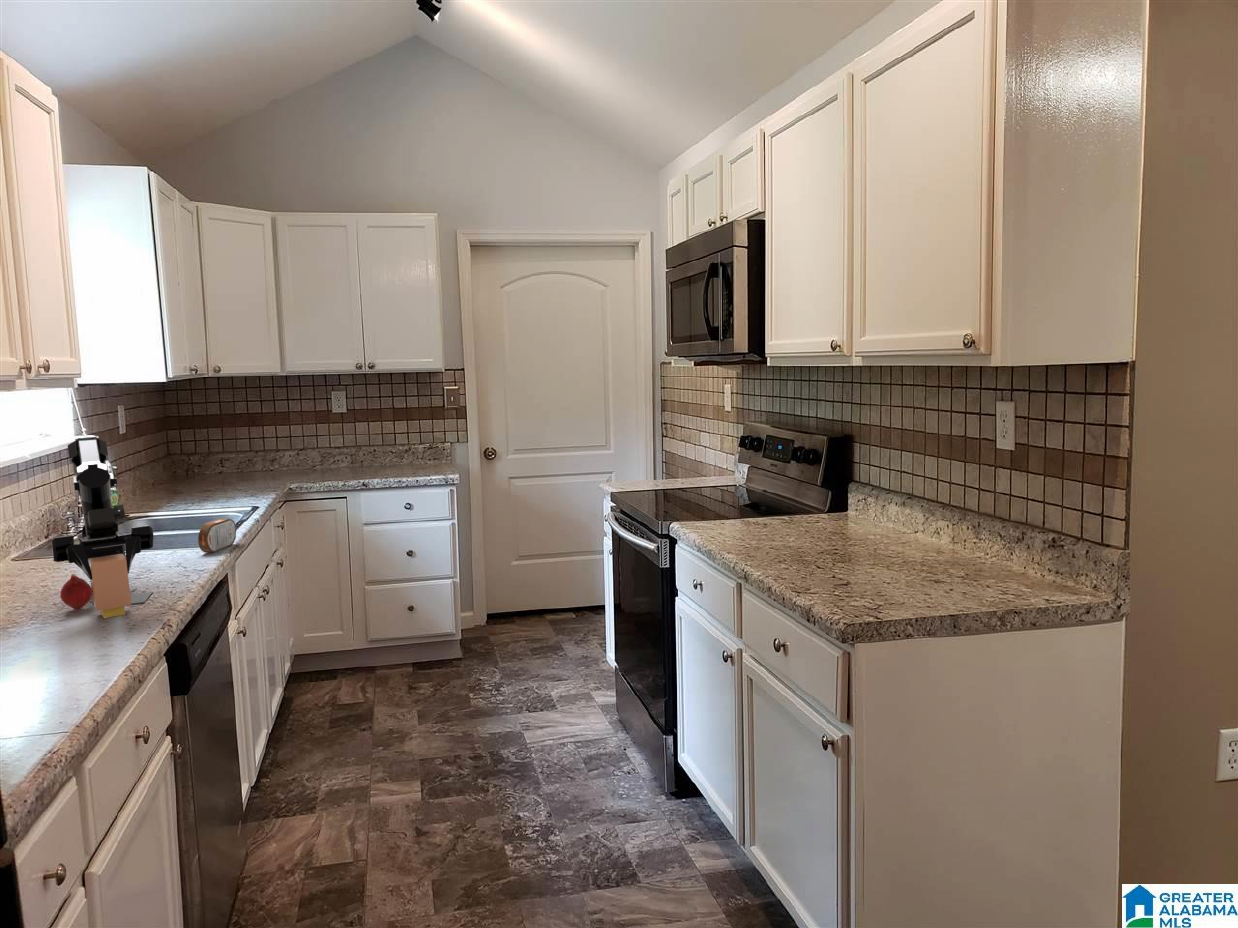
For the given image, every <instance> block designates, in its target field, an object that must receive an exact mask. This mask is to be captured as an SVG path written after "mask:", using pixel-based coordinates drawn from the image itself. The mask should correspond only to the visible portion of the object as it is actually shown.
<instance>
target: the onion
mask: <svg viewBox="0 0 1238 928" xmlns="http://www.w3.org/2000/svg"><path fill="white" fill-rule="evenodd" d="M59 594H60V595H59V596H60V598H61V601H62V602H63V603H64V604H65V605H66V606H68V607H70V608H71V609H74V611H80V610H82V608H83V607H85V606H86V605H87V604H88V603H89V602H90V600H91V599H92V597H93V593H92V589H91V584H89V583H88V582H87V580H85V579H83V578H82V577H79V576H78V575H76V573H71V574H70V578H69V579H68V580H67V581H66V582H65V583H64V584H63V585H62V587H61V590H60V593H59Z"/></svg>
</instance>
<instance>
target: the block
mask: <svg viewBox="0 0 1238 928" xmlns="http://www.w3.org/2000/svg"><path fill="white" fill-rule="evenodd" d="M101 615H102V617H103V618H104V619H106V618H111V617H117V616H123V615H126V606H123V607H117V608H112V609H106V610H101Z"/></svg>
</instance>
